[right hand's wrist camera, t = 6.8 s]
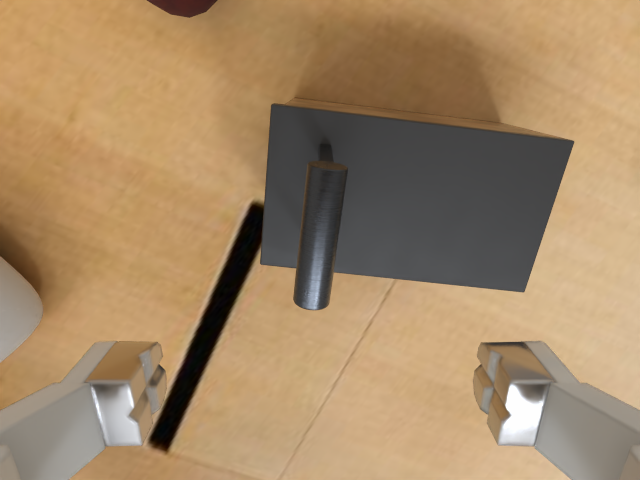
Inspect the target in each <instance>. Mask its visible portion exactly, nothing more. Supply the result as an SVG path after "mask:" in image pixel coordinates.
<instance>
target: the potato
mask: <svg viewBox="0 0 640 480" xmlns="http://www.w3.org/2000/svg"><path fill="white" fill-rule="evenodd" d="M147 1H149V2H150V3H152V4H154V5H155V6H157V7H159V8H161V9H162V10H164V11H166V12H168V13H169V14H172V15H178V16H184V17H189V18H190V17H192V16H195V15H198V14H201V13H204V12H206V11H207V10H208V9H209V8H210V7H211V6H212V5H213V4H214V3H215V2H216V1H217V0H147Z"/></svg>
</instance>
